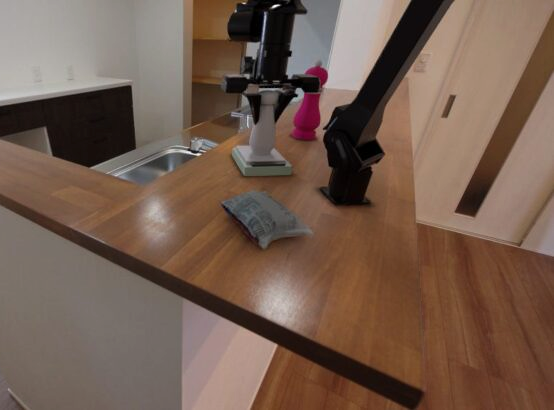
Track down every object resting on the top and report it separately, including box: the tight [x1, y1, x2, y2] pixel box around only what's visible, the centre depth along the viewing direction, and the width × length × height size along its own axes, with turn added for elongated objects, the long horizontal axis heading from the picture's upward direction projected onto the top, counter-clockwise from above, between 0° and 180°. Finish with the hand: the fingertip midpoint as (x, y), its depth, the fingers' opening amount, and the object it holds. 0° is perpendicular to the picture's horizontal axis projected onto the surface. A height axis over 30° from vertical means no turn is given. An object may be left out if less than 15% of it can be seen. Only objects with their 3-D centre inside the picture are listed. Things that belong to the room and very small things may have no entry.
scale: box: [231, 145, 293, 177], centre depth 67 cm, size 12×10×3 cm
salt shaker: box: [248, 89, 278, 156], centre depth 64 cm, size 6×6×13 cm
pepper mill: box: [292, 59, 329, 141], centre depth 82 cm, size 7×7×20 cm
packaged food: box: [220, 189, 314, 250], centre depth 44 cm, size 9×12×5 cm
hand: (263, 126), depth 64 cm, fingers closed on salt shaker, 3 cm apart
